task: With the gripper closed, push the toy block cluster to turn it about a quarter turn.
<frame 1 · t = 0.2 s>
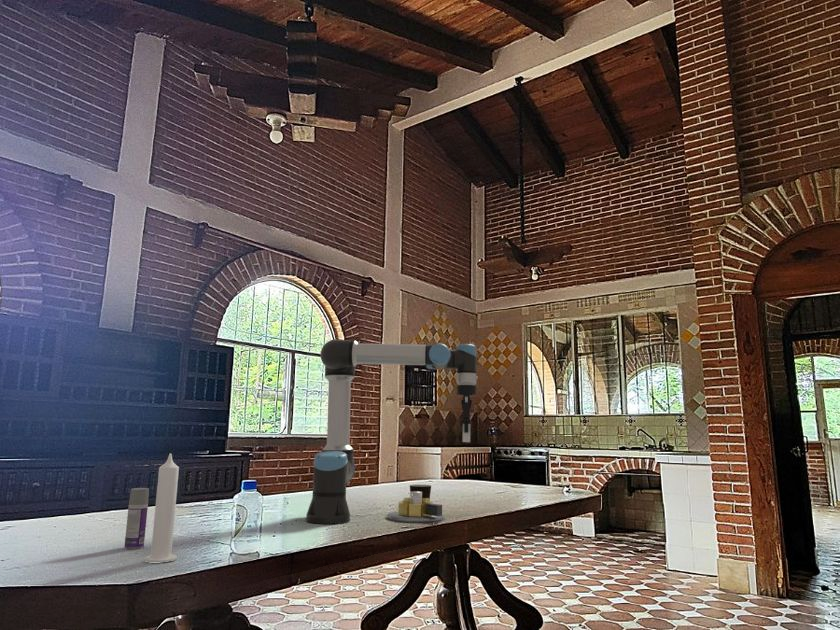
hand: (466, 441, 221), 27 cm above the table, fingers open, 13 cm apart
flange plate: (415, 518, 215), on the table
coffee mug: (420, 511, 233), on the table
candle: (160, 561, 141), on the table
toy block cluster: (421, 507, 213), point 4 cm above the table, hinge at 0.0°
container: (133, 548, 156), on the table
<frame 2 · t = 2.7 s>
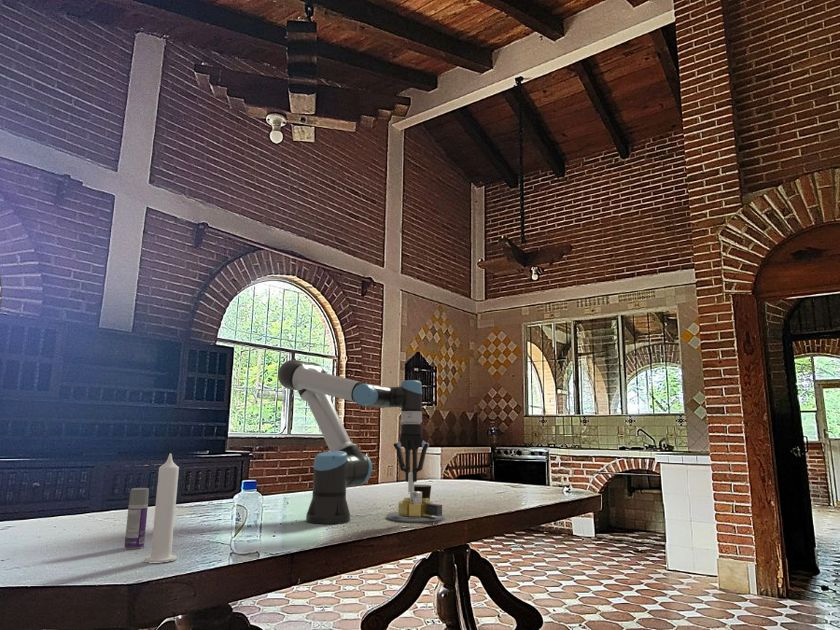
hand: (411, 491, 207), 10 cm above the table, fingers closed
nothing on the table moved.
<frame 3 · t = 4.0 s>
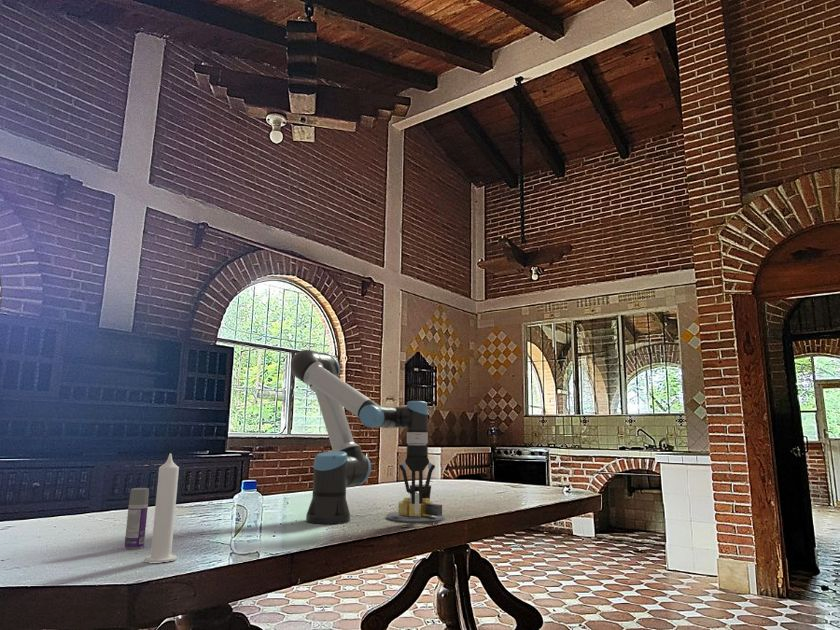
hand: (416, 513, 206), 3 cm above the table, fingers closed
nothing on the table moved.
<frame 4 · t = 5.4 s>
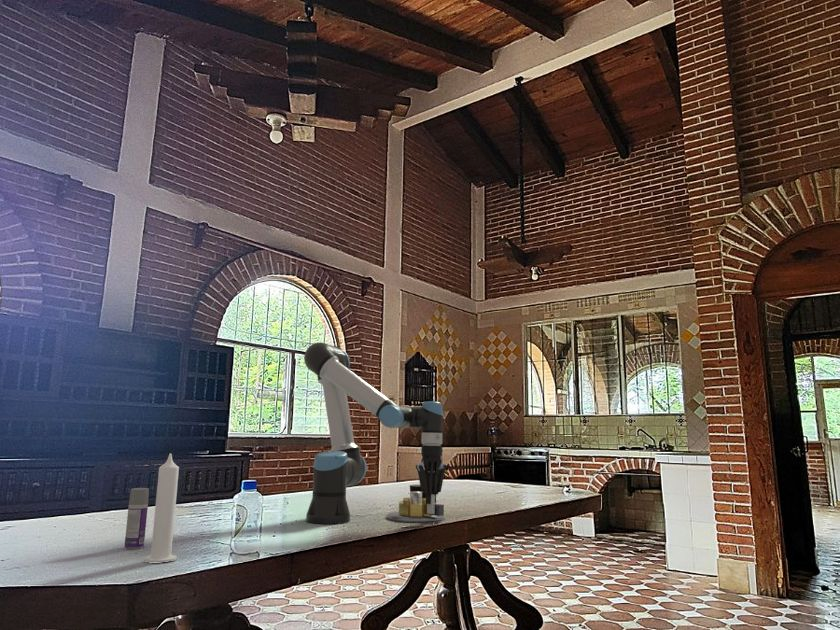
hand: (430, 513, 208), 3 cm above the table, fingers closed
toy block cluster: (422, 507, 213), point 4 cm above the table, hinge at 3.9°, touching gripper
everything else where it was.
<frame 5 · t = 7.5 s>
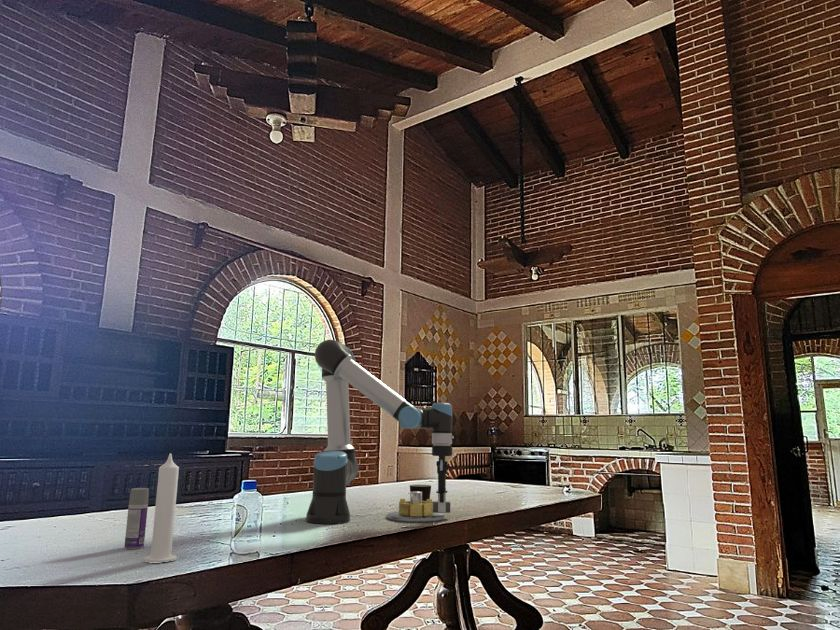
hand: (441, 511, 214), 3 cm above the table, fingers closed
toy block cluster: (424, 506, 216), point 4 cm above the table, hinge at 48.9°, touching gripper
everything else where it was.
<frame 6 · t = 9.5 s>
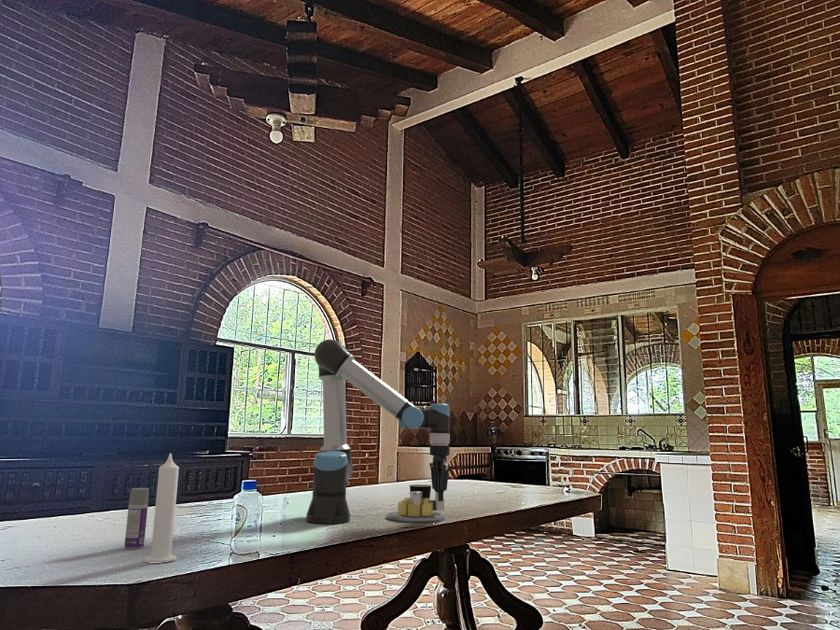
hand: (439, 509, 219), 3 cm above the table, fingers closed
toy block cluster: (422, 505, 218), point 4 cm above the table, hinge at 86.5°
everything else where it was.
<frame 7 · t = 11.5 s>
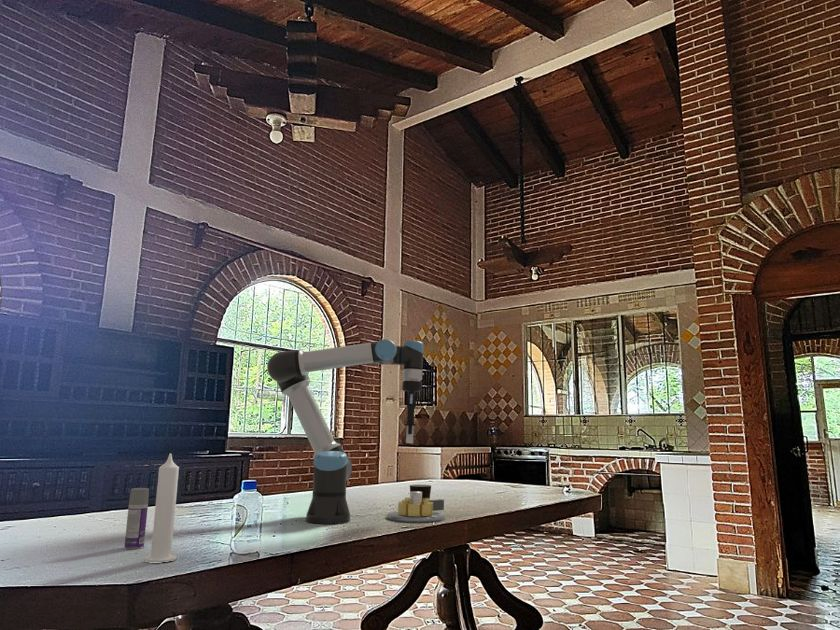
hand: (409, 443, 224), 27 cm above the table, fingers closed
nothing on the table moved.
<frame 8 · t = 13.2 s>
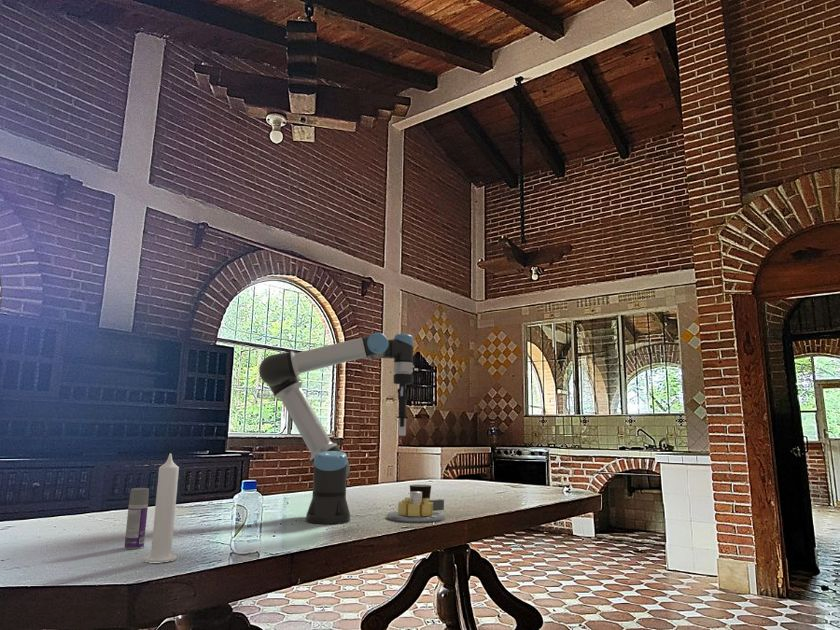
hand: (402, 435, 226), 29 cm above the table, fingers closed
nothing on the table moved.
at the end: toy block cluster at +86° (first picture: +0°); the gripper is holding nothing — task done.
